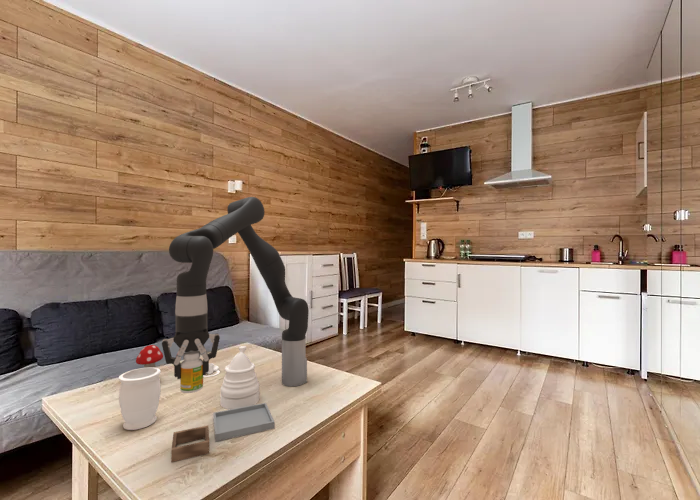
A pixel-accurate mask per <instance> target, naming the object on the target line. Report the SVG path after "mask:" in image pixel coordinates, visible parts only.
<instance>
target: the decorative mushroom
mask: <svg viewBox="0 0 700 500" xmlns="http://www.w3.org/2000/svg"><path fill="white" fill-rule="evenodd" d="M163 358H164V352H162V351H161V349H160V348H159V346H157V345H155V344H150V345H147V346H144V347H143V348H142V349H141V350H140V352H139V354H138V355H137V357H136V359H135V362H136V365H142V366H143V368H149V367H152V368H156V363H157V362H160V361H161V360H163Z"/></svg>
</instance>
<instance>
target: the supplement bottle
mask: <svg viewBox="0 0 700 500" xmlns="http://www.w3.org/2000/svg"><path fill="white" fill-rule="evenodd" d="M200 357H201V353H200V351H199V350H198V351H189V352H184V354H183V356H182V359H183V360H182V361H181V366H180V379H179V381H180V387H179V388H180V392H181V393H183V394H193V393H197V392H198V391H201V390H202V389H203V388H204V377H203V358H200Z"/></svg>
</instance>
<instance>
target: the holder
mask: <svg viewBox="0 0 700 500" xmlns="http://www.w3.org/2000/svg"><path fill="white" fill-rule="evenodd" d="M202 439H204V441H200V442H195V441H198V440H202ZM171 442H172V443H171V449H170V451H171V452H170V454H171V455H170V457H171V458H170V460H171V463H173V462H177V461H182V460H186V459H187V460H188V459H190V458H195V457H199V456H204V455H208V454H210V429H209V424H208V425H203V426H198V427H192V428H188V429H183V430H179V431H173V435H172V441H171ZM188 442H195V443H189V444H185V445H180V446H177V445H179V444H183V443H188Z"/></svg>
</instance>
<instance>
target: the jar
mask: <svg viewBox="0 0 700 500" xmlns="http://www.w3.org/2000/svg"><path fill="white" fill-rule="evenodd" d="M161 372H162V371H161V369H160V368H158V367H155V368H152V367H149V368H144V367H141V368H135V369H131V370H129V371H126V372H124V373H122V374H120V375H119V376H118V380H119V382H120V385H119V391H118V403H119V408H120V414H121V417H122V419H123V421H124V422H123V425H122V427H123V429H124V430H128V431H133V430H134V431H136V430H141V429H144V428H146V427H149V426H151V425H153V424H155V422H156V421H157V420H158V419H157V416H156V413H157V411H158V408H159V403H160V397H161V393H162V391H161V380H160V375H161Z"/></svg>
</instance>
